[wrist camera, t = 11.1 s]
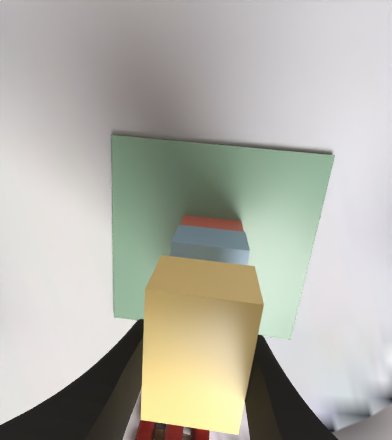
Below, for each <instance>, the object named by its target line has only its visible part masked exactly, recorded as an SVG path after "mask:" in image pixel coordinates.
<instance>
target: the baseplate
mask: <svg viewBox="0 0 392 440" xmlns="http://www.w3.org/2000/svg"><path fill="white" fill-rule="evenodd" d="M111 157H112V223H113V290H114V317H117V318H125V319H132V320H139V319H144V303H145V288H146V286H147V284H148V282H149V280H150V278H151V276H152V273H153V271H154V269H155V267H156V265H157V263H158V261H159V259H160V257H161V255H165V256H170V254H171V241H172V239H173V237H174V234H175V232H176V230H177V228H178V225H180V223H181V221H182V218H183V216H184V215H190V216H199V217H209V218H218V219H228V220H237V221H242V225H243V229H244V232H246V236H247V240H248V245H249V249H250V254H249V260H248V265H249V266H255V269H256V273H257V278H258V282H259V286H260V290H261V294H262V298H263V302H264V307H263V312H262V317H261V322H260V327H259V333H258V335H262V336H265V337H273V338H281V339H288V340H291V336H292V332H293V328H294V323H295V319H296V315H297V311H298V307H299V303H300V298H301V294H302V290H303V286H304V282H305V278H306V273H307V269H308V265H309V261H310V257H311V253H312V248H313V244H314V240H315V236H316V232H317V228H318V223H319V219H320V215H321V211H322V207H323V203H324V198H325V194H326V190H327V186H328V182H329V178H330V173H331V169H332V165H333V161H334V157H335V155H328V154H317V153H306V152H295V151H284V150H273V149H262V148H251V147H240V146H229V145H218V144H207V143H196V142H185V141H174V140H163V139H152V138H141V137H130V136H119V135H111Z"/></svg>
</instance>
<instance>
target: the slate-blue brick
mask: <svg viewBox="0 0 392 440" xmlns="http://www.w3.org/2000/svg"><path fill="white" fill-rule="evenodd" d="M249 254H250V249H249V245H248V240H247V236H246V232H242V231H233V230H223V229H214V228H205V227H196V226H187V225H178V228H177V230H176V232H175V234H174V237H173V239H172V241H171V254H170V256H174V257H182V258H190V259H199V260H207V261H215V262H224V263H232V264H240V265H248V260H249Z"/></svg>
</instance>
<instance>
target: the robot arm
mask: <svg viewBox="0 0 392 440" xmlns="http://www.w3.org/2000/svg"><path fill="white" fill-rule="evenodd" d="M143 334H144V319H139V320H137V322H136V323H135V324H134V325H133V327H132V328H131V329H130V330H129V331H128V332H127V333H126V334H125V336H124V337H123V338H122V339H121V340H120V341H119V342H118V343H117V344H116V345H115V346H114V347H113V348H112V349H111V350H110V351H109V352H108V353H107V354H106V355H105V356H104V357H103V358H101V359H100V360H99V361H98V362H97V363H96V364H95V365H94V366H93V367H91V368H90V369H89V370H88V371H87V372H85V373H84V374H83V375H81V376H80V377H79V378H78V379H76V380H75V381H74V382H72V383H71V384H69V385H68V386H67V387H65V388H64V389H62V390H61V391H60V392H58V393H57V394H55V395H54V396H52V397H50V398H49V399H47V400H45V401H44V402H42V403H41V404H39V405H37V406H36V407H34V408H32V409H30V410H29V411H27V412H25V413H23V414H21V415H19V416H17V417H15V418H13V419H11V420H10V421H8V422H6V423H4V424H2V425H0V440H123V436H124V433H125V430H126V427H127V424H128V422H129V419H130V416H131V414H132V411H133V408H134V406H135V403H136V400H137V398H138V395H139V392H140V389H141V387H142V364H143ZM245 405H246V413H247V420H248V427H249V434H250V440H338V439H337V438H336V437H335V436H334V435H333V434H332V433H331V432H330V431H329V430H328V429H327V428H326V426H325V425H324V424H323V423H322V422H321V421H320V420H319V419H318V417H317V416H316V415H315V414H314V413H313V411H312V410H311V409H310V408H309V406H308V405H307V404H306V403H305V401H304V400H303V399H302V397H301V396H300V395H299V393H298V392H297V391H296V389H295V388H294V386H293V385H292V383H291V382H290V380H289V379H288V378H287V376H286V374H285V373H284V371H283V370H282V368H281V367H280V365H279V363H278V362H277V360H276V358H275V357H274V355H273V353H272V351H271V350H270V348H269V346H268V344H267V342H266V340H265V338H264V337H263V336H262V335H258V338H257V343H256V348H255V353H254V358H253V363H252V368H251V373H250V378H249V383H248V388H247V393H246V398H245Z"/></svg>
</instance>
